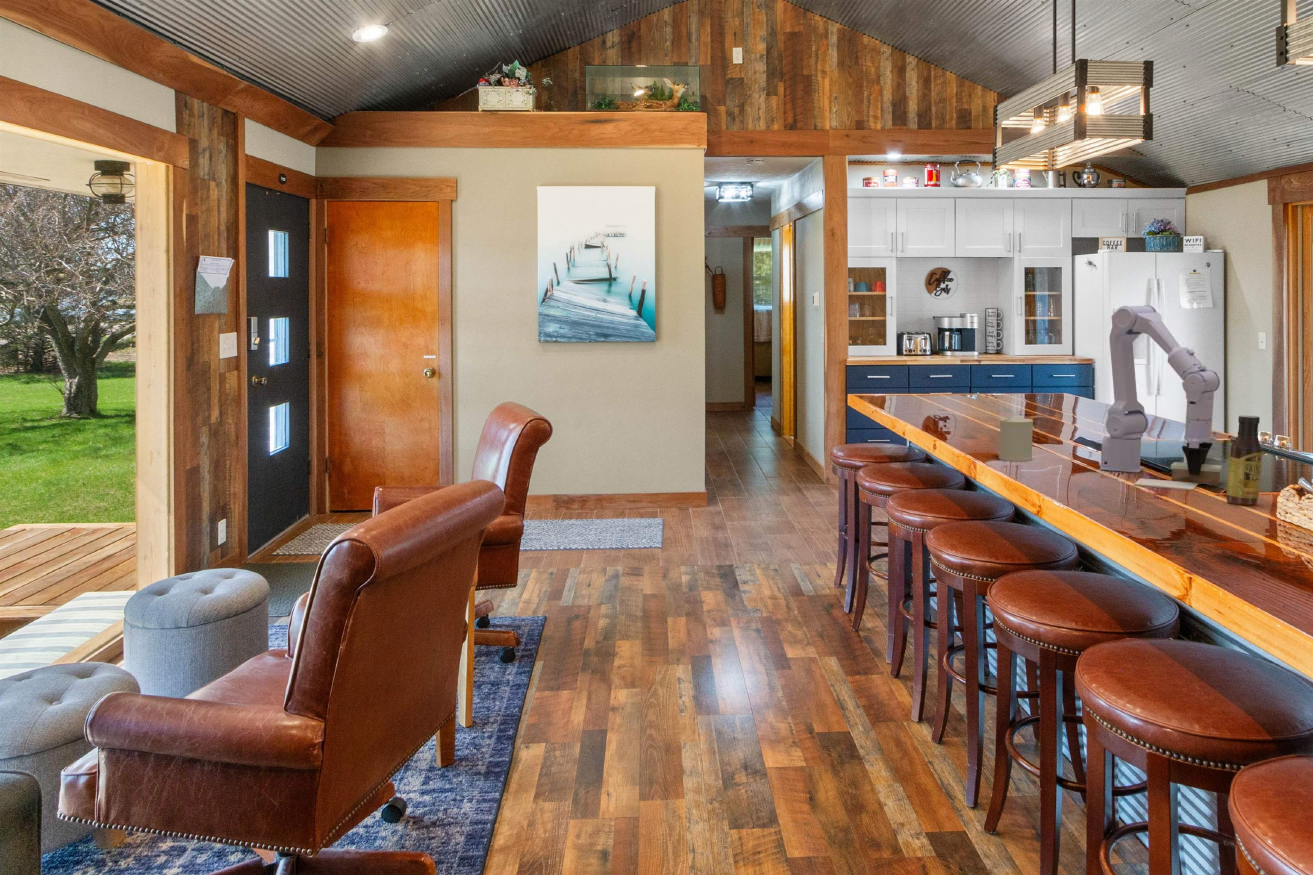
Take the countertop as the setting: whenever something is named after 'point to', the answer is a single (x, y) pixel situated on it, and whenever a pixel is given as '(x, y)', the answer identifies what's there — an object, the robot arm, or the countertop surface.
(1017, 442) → the can
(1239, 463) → the sauce bottle
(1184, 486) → the felt mat
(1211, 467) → the lid
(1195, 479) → the walnut box
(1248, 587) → the countertop surface
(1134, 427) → the robot arm
